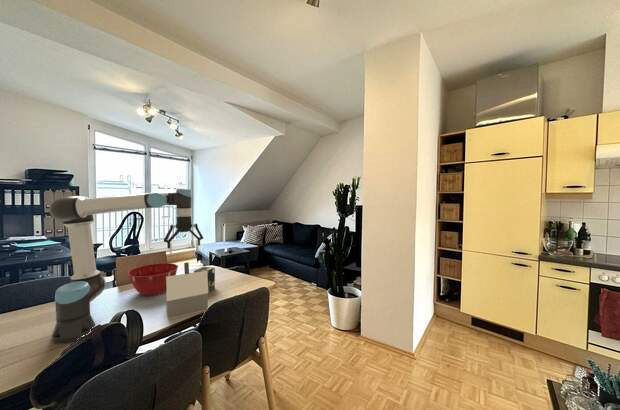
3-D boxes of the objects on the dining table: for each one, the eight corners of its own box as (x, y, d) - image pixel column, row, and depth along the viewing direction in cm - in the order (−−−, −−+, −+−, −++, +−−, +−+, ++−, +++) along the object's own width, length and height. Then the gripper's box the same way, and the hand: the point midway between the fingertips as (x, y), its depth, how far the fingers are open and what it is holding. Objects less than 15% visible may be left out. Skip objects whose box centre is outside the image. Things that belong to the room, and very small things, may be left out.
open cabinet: (167, 319, 134) (167, 301, 133) (166, 310, 144) (166, 292, 143) (207, 310, 145) (207, 293, 144) (203, 302, 155) (203, 286, 154)
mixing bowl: (116, 297, 158) (116, 273, 157) (154, 281, 186) (154, 261, 185) (154, 303, 152) (153, 278, 151) (187, 286, 179) (187, 264, 178)
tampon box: (206, 294, 166) (205, 272, 166) (193, 292, 168) (193, 271, 167) (215, 287, 177) (215, 267, 176) (203, 286, 179) (203, 266, 178)
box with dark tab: (166, 300, 137) (167, 301, 132) (165, 265, 141) (165, 265, 136) (206, 292, 148) (208, 292, 143) (204, 260, 152) (206, 260, 147)
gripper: (158, 217, 133) (159, 256, 135) (208, 215, 147) (208, 251, 148) (158, 215, 140) (158, 253, 141) (206, 214, 153) (206, 248, 154)
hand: (184, 252), depth 144 cm, fingers open, 13 cm apart
